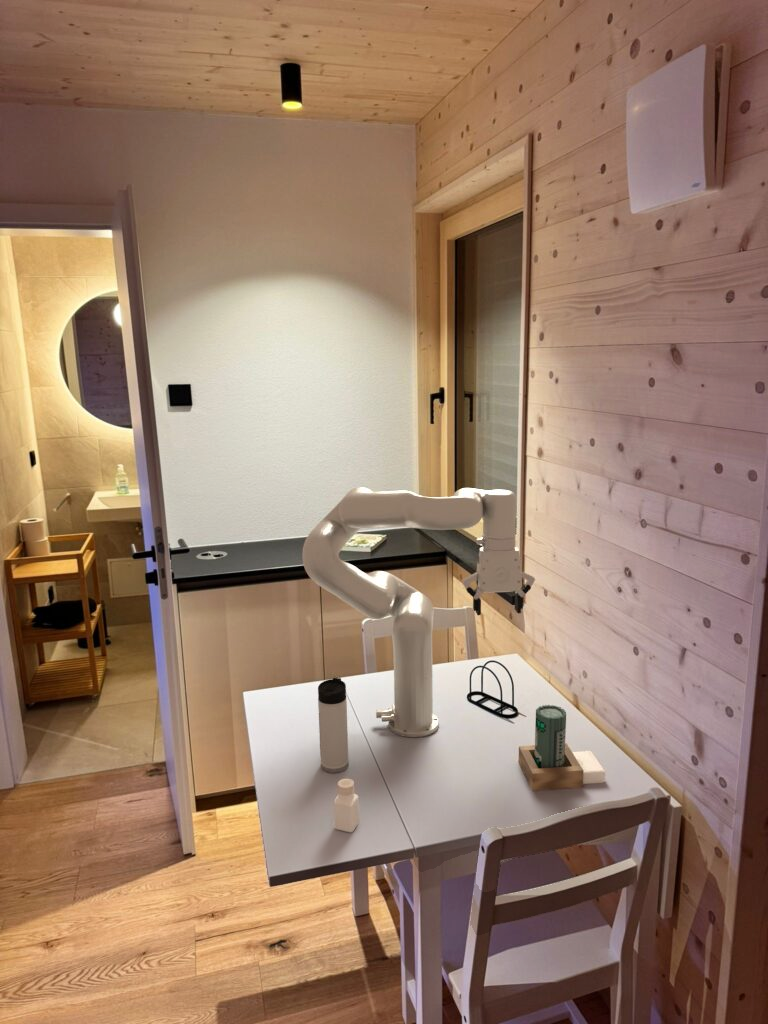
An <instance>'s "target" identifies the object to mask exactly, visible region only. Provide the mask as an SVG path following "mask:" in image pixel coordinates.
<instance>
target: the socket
mask: <svg viewBox="0 0 768 1024" xmlns="http://www.w3.org/2000/svg"><path fill="white" fill-rule="evenodd" d="M572 752H573V751H572V750H571V748H570V747H569V745H568V743H566V742H565V760H564V767H555V768H539V769H538V767H537V765H536V763H535V761H534V759H535V744H534V745H533V744H532V745H522V746H521V745H520V746H519V745H518V764H519V766H520V768H521V770H522V773H523V774H524V776H525V779H526V781H527V783H528V784H529V785H528V786H529V787H530V789H531V791H532V792H533V791H549V790H562V789H575V788H576V789H577V788H583V787H584V784H583V771H584V770H583V769H582V767H581V766H580V764H579V762H578V761H577V759H576V758H575V756H574V754H573V753H572Z"/></svg>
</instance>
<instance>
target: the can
mask: <svg viewBox="0 0 768 1024" xmlns="http://www.w3.org/2000/svg"><path fill="white" fill-rule="evenodd" d="M564 709H565V708H562V707H561V706H557V705H553V704H552V705H550V704H545V705H544V704H543V705H542V706H541V705H539V706H538V707H537V708H536V709H535V732H534V745H535V759H534V761H535V763H536V765H537V767H538V769H539V768H555V767H564V760H565V743H566V732H567V731H566V729H567V728H566V727H567V712H566V710H564Z"/></svg>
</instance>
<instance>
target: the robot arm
mask: <svg viewBox="0 0 768 1024" xmlns="http://www.w3.org/2000/svg"><path fill="white" fill-rule="evenodd" d="M481 520H482V535H481V537H480V538H477V539H476V545H479V546H482V547H480V548H479V552H478V557H477V566H476V571H475V572H474V573H472V574H471V575H468V576H466V577H465V578H462V580H461V583H462V585H463V587H464V589H465V590H466V592H467V593H468V594H469V595H470V596H471V597H472V609H473V611H474V612H475V613H476V615H477V616H481V615H482V599H481V598H480V597H481V596H482V595H483V594H484V593H486V594H488V593H489V594H490V593H509V592H513V593H514V592H516V593H515V594H514V610H515V612H516V613H517V614H521V613H522V609H524V598H525V597H526V594H527V593H528V592H529V591H530V590H531V589H532V586H533V585H534V583H535V581H536V578H535V577H534V576H533V575H531V574H529V573H526V572H524V571H522V563H521V554H520V550H519V548H518V547H516V538H517V537H516V528H517V527H516V524H517V523H516V522H517V496H516V494H515V492H513V491H511V490H507V489H492V490H491V489H490V490H485V489H479V488H472V487H463V488H460V489H458V490H456V491H455V492H454V493H453V495H452V496H449V497H448V496H444V497H443V496H442V497H432V496H431V497H430V496H423V495H419V494H417V493H416V492H412V491H408V490H387V491H372V490H371V489H369V488H367V487H360V486H359V487H355V488H352V489H350V490H349V491H347V493H346V494H345V495H344V496H343V498H342V499H341V500H339V502H338V503H337V504H336V505H335V506H334V508H332V509H331V511H329V512H328V514H326V515H325V516H324V518H323V519H321V521H320V522H319V523H318V524H316V526H315V527H314V528H313V529H312V530H311V531H310V532H309V533H308V535H307V536H306V539H305V541H304V542H303V547H302V554H301V555H302V564H303V567H304V570H305V573H307V575H308V577H309V579H311V580H312V581H313V582H314V583H315V584H316V585H318V586H319V587H321V588H322V589H323V590H325V591H327V592H329V593H330V594H332V595H334V596H336V597H337V598H338V599H340V600H341V601H342V602H344V603H346V604H347V605H349V606H350V607H352V608H353V609H354V610H357V611H358V612H359V613H361V614H362V615H364V616H366V617H368V618H370V619H372V620H382V619H384V618H385V617H387V616H388V615H389V616H391V617H393V619H392V624H391V638H392V650H393V652H392V653H393V694H394V695H393V698H394V699H393V700H394V701H393V702H394V703H393V704H392V703H391V708H388V709H376V711H375V716H376V717H375V718H376V719H381V722H382V723H384V722H388V727H389V729H390V731H392V732H393V733H394V734H397V735H399V736H402V737H408V738H420V737H425V736H429V735H431V734H433V733H435V732H436V731H437V730H438V728H439V726H440V720H439V717H438V716H437V715H435V713H433V712H434V711H433V710H434V709H433V702H434V701H433V693H434V692H433V627H434V624H433V623H434V617H435V616H434V614H435V612H434V605H433V603H432V601H431V600H430V599H429V598H428V596H426V595H425V594H424V593H422V592H421V591H419V590H418V589H416V588H415V587H413V586H411V585H410V584H409V583H406V582H405V581H403V580H402V579H400V578H399V577H397V576H396V575H394V574H392V573H390V572H388V571H385V570H384V571H383V570H374V571H372V572H369V573H366V572H364V571H362V570H361V569H359V568H358V567H357V566H355V565H353V564H351V563H349V562H346V561H344V560H342V559H341V558H340V556H339V555H340V552H341V551H342V550H343V548H344V546H345V545H346V544H347V543H348V542H349V541H351V540H350V539H352V538H353V537H354V535H356V534H357V533H358V532H359V531H360V530H361V529H373V528H375V529H377V528H378V529H379V528H399V527H400V528H401V527H403V528H404V527H407V528H413V529H420V530H431V531H433V530H434V531H435V530H437V531H447V530H449V531H450V530H465V529H470V528H473V527H474V526H477V524H479V522H480V521H481ZM523 579H524V580H525V581H526V582H525V584H523ZM472 582H476V587H475V588H474V589H473V588H472V587H471V583H472ZM522 584H523V585H522Z"/></svg>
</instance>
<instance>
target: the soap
mask: <svg viewBox="0 0 768 1024" xmlns="http://www.w3.org/2000/svg"><path fill="white" fill-rule="evenodd" d="M572 753H573V754H574V756H575V758H576V759H577V761H578V762H579V764H580V766H581V767H582V769H583V770H584V771H583V785H588V784H603V783H605V781H606V771H605V769H604V768H603V766H602V765H601V764H600V762H599V761H598V759H597V758H596V756H595V755H594V753H593V752H592V751H591V750H583V751H572Z"/></svg>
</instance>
